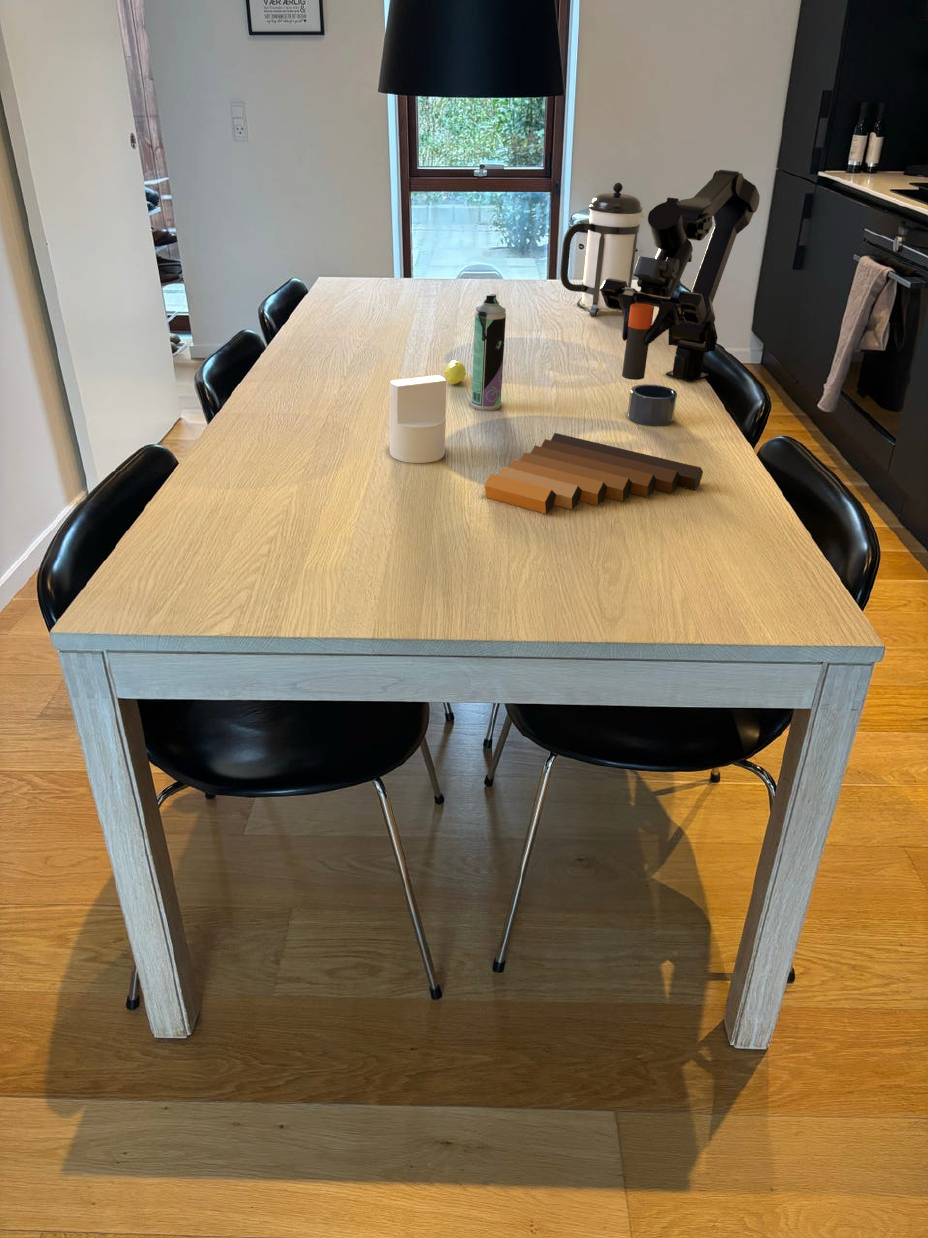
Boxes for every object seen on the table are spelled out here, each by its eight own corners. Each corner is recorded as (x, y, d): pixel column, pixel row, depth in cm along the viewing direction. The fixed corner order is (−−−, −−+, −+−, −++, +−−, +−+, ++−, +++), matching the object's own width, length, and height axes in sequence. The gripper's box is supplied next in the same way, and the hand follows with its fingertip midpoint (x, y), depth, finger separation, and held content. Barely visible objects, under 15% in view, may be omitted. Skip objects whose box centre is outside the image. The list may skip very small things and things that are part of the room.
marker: (622, 371, 177) (631, 302, 170) (645, 374, 176) (654, 304, 170) (620, 378, 174) (629, 307, 167) (643, 380, 173) (653, 309, 166)
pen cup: (644, 407, 182) (648, 381, 179) (681, 419, 177) (685, 392, 174) (618, 416, 177) (621, 390, 174) (655, 429, 172) (659, 401, 169)
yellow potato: (441, 386, 188) (442, 366, 186) (447, 374, 195) (448, 354, 193) (462, 387, 187) (463, 368, 185) (468, 375, 194) (469, 356, 192)
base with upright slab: (403, 466, 152) (403, 392, 146) (380, 446, 159) (380, 375, 153) (454, 458, 156) (456, 385, 150) (429, 439, 163) (431, 369, 157)
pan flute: (700, 484, 151) (557, 448, 162) (704, 463, 149) (559, 429, 160) (641, 542, 132) (483, 498, 143) (644, 520, 131) (484, 477, 141)
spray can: (497, 411, 176) (504, 299, 166) (468, 408, 177) (473, 296, 167) (502, 402, 181) (509, 292, 171) (474, 399, 182) (479, 289, 172)
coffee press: (589, 300, 255) (602, 176, 240) (643, 310, 247) (660, 183, 232) (555, 311, 243) (566, 181, 227) (611, 323, 235) (626, 189, 220)
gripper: (610, 230, 170) (576, 305, 168) (711, 244, 162) (676, 324, 159) (624, 269, 180) (591, 341, 177) (719, 285, 171) (686, 361, 169)
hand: (634, 341), depth 171 cm, fingers closed on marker, 4 cm apart
